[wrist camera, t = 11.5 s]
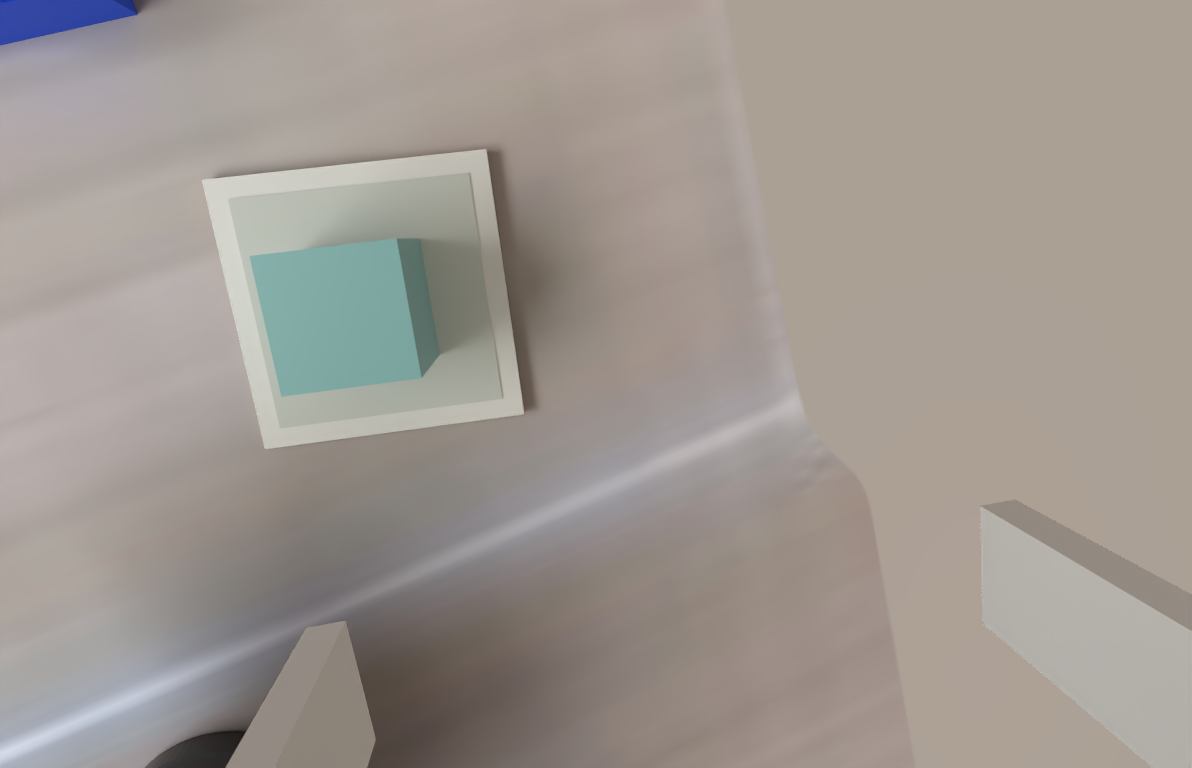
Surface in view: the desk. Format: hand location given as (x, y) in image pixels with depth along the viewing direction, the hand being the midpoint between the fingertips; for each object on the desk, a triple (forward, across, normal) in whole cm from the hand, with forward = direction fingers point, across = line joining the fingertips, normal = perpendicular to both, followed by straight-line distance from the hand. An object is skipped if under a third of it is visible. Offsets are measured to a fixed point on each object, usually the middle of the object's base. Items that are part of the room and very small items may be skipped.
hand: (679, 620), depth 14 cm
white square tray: (+30, -12, +6) cm, 33 cm away
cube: (+29, -12, +6) cm, 32 cm away
